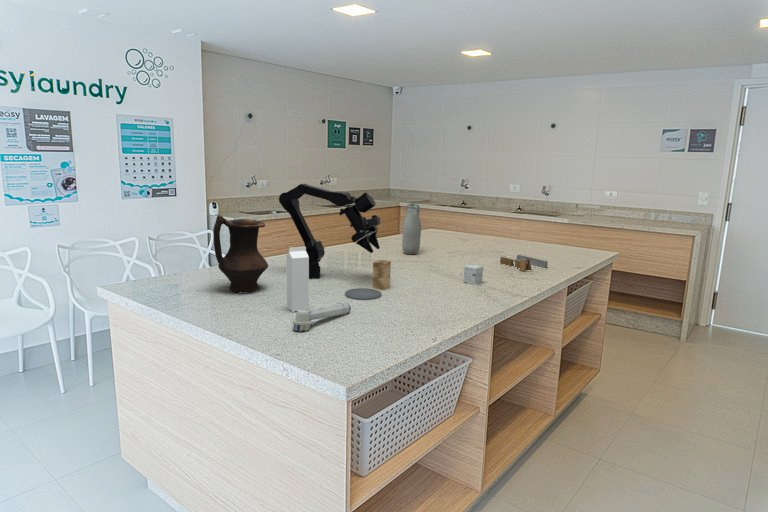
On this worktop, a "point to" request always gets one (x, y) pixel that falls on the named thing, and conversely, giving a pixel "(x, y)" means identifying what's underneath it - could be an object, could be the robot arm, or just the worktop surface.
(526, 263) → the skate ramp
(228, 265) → the jug
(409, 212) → the grey bottle
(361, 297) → the mat
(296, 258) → the milk
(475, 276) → the skincare box
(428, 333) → the worktop surface
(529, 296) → the worktop surface
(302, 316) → the toothbrush head
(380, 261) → the tan wooden block
